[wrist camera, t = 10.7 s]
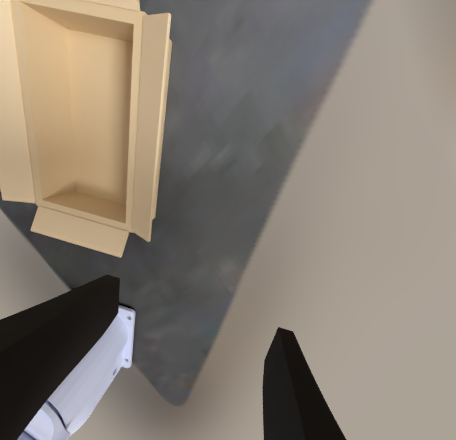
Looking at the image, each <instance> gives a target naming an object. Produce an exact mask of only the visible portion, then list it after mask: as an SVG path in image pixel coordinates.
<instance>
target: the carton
mask: <svg viewBox="0 0 456 440" xmlns="http://www.w3.org/2000/svg"><path fill="white" fill-rule="evenodd" d="M170 21H171V14H169V13H163V14H154V15H147V14H146V13H145V12H142V11H140V4H139V0H0V189H1V194H2V200H8V201H18V202H28V203H36V205H37V206H38V209H37V212H36V215H35V218H34V221H33V224H32V227H31V230H30V231H33V232H37V233H40V234H43V235H47V236H50V237H53V238H57V239H60V240H63V241H67V242H70V243H74V244H77V245H80V246H84V247H87V248H90V249H94V250H97V251H100V252H104V253H107V254H111V255H114V256H117V257H122V254H123V251H124V248H125V244H126V241H127V238H128V235H129V232H131V233H133V232H134V233H136V234H137V235H139V236H140V237H142V238H143V239H145V240H146V241H148V242H150V238H151V227H152V220H153V219H154V218H155V214H156V204H157V193H158V183H159V173H160V162H161V152H162V142H163V132H164V121H165V111H166V101H167V91H168V80H169V70H170V60H171V50H172V41H171V40H170V39H169V32H170Z"/></svg>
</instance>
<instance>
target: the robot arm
mask: <svg viewBox="0 0 456 440" xmlns="http://www.w3.org/2000/svg"><path fill="white" fill-rule="evenodd" d="M119 283H120V278H116V277H113V276H110V275H105V276H103V277H100V278H98V279H96V280H93V281H91V282H89V283H87V284H85V285H82V286H80V287H78V288H76V289H73V290H71V291H69V292H67V293H65V294H62V295H60V296H58V297H55V298H53V299H51V300H49V301H46V302H44V303H41V304H39V305H36V306H34V307H31V308H29V309H26V310H24V311H21V312H19V313H17V314H14V315H11V316H9V317H7V318H4V319H1V320H0V440H68V438H69V437H70V435H72V434H73V433H74V432H76V431H77V430H78V429H79V428H80V427H81V426H82V425H83V424H84V423H85V421H86V420H87V419H88V417H89V416H90V414H91V413H92V411H93V410H94V408H95V407H96V405H97V404H98V402H99V401H100V399H101V397H102V396H103V394H104V393H105V391H106V390H107V388H108V387H109V385H110V384H111V382H112V381H113V379H114V377H115V376H116V374H117V373H118V371H119V369H120V368H121V367H125V368H129V367H130V366H131V364H132V351H133V337H134V324H135V311H134V310H133V309H130V308H127V307H124V306H121V305H119ZM263 425H264V440H346V439H345V437H344V435H343V433H342V431H341V429H340V428H339V426H338V424H337V422H336V420H335V418H334V416H333V414H332V413H331V411H330V409H329V407H328V405H327V403H326V401H325V399H324V397H323V395H322V393H321V391H320V389H319V387H318V385H317V383H316V381H315V379H314V377H313V375H312V373H311V370H310V368H309V366H308V364H307V362H306V360H305V357H304V355H303V353H302V351H301V348H300V346H299V344H298V341H297V339H296V337H295V335H294V333H293V331H289V330H286V329H282V328H279V327H278V329H277V332H276V335H275V336H274V339H273V341H272V344H271V346H270V348H269V351H268V353H267V356H266V358H265V362H264V375H263Z"/></svg>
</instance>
